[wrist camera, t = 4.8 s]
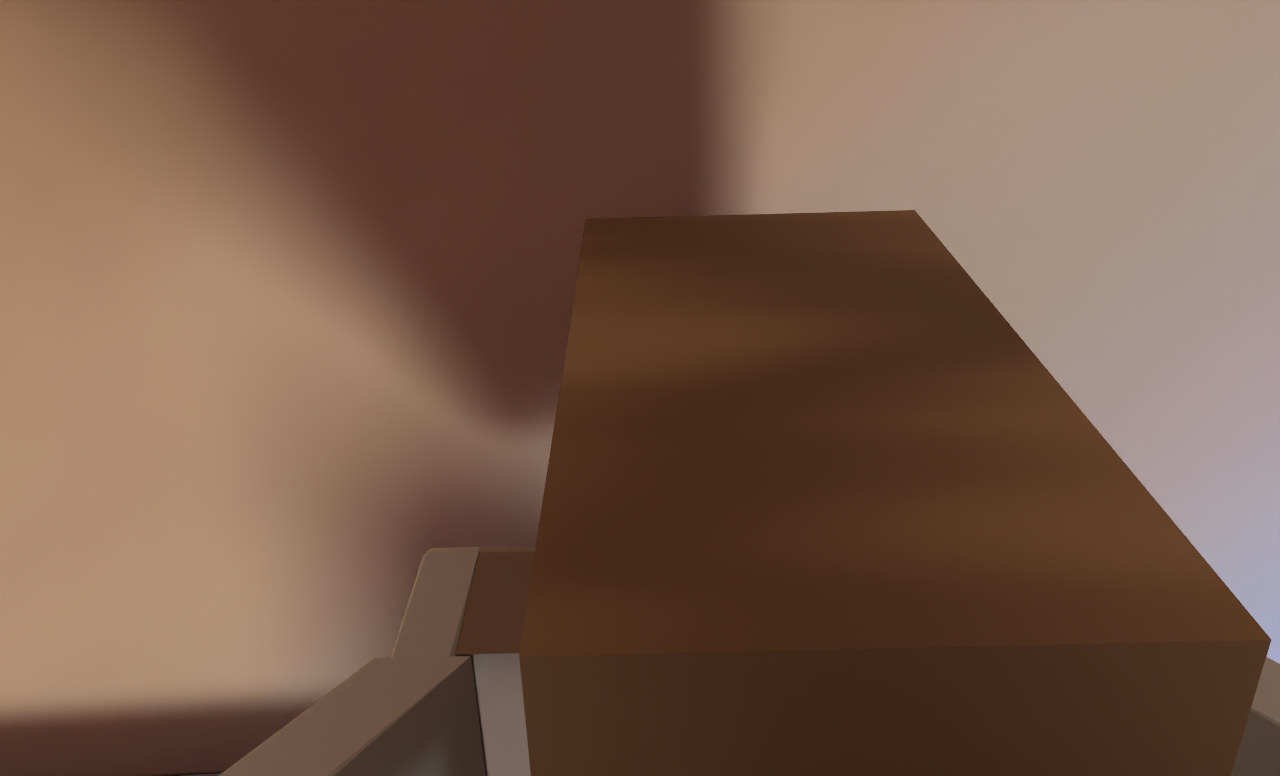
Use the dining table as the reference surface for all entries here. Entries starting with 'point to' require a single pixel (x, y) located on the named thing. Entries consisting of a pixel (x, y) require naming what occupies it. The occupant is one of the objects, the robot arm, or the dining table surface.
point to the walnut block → (850, 530)
